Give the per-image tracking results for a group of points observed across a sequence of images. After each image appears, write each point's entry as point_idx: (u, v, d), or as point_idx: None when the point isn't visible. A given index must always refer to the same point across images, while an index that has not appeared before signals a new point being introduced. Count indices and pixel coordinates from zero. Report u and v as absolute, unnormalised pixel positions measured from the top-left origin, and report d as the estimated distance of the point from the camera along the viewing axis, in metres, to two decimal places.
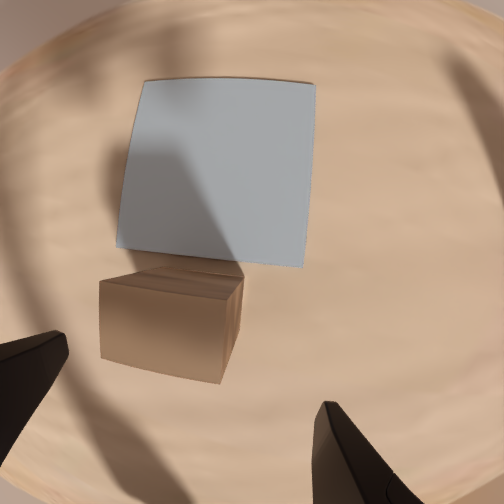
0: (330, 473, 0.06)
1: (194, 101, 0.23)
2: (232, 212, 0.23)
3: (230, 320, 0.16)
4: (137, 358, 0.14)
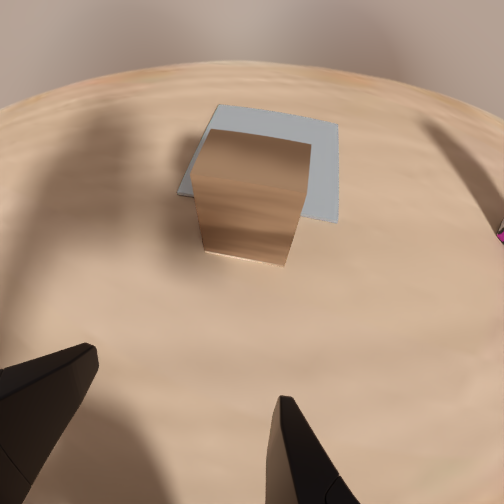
0: (277, 470, 0.06)
1: (256, 119, 0.34)
2: None
3: None
4: (231, 172, 0.17)
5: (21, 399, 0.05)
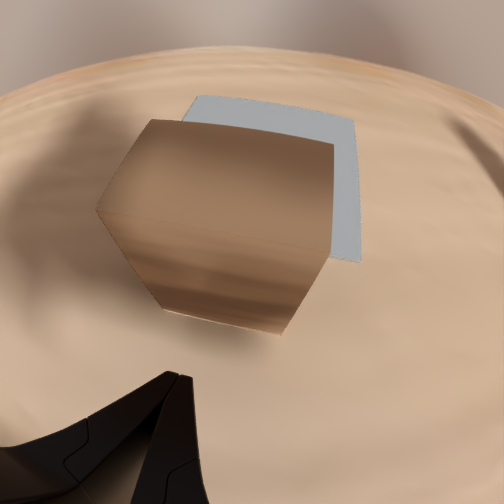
0: None
1: (246, 113, 0.25)
2: None
3: None
4: (171, 204, 0.08)
5: (117, 451, 0.05)
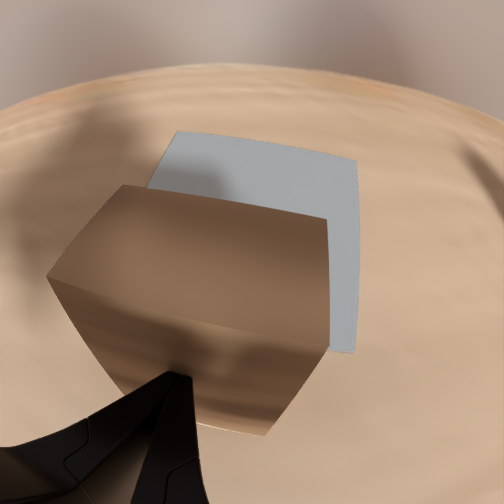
0: None
1: (230, 156, 0.23)
2: None
3: None
4: (132, 281, 0.06)
5: (117, 451, 0.05)
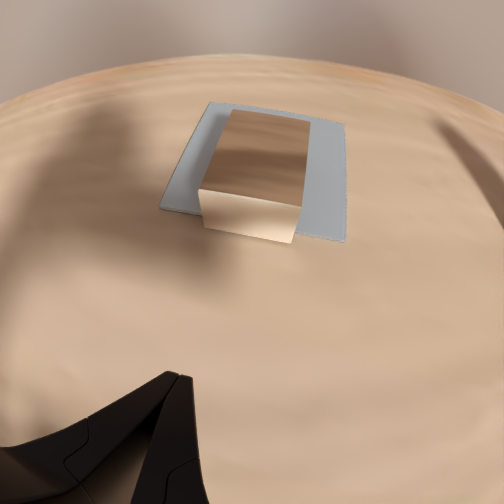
0: None
1: None
2: None
3: None
4: None
5: (117, 451, 0.05)
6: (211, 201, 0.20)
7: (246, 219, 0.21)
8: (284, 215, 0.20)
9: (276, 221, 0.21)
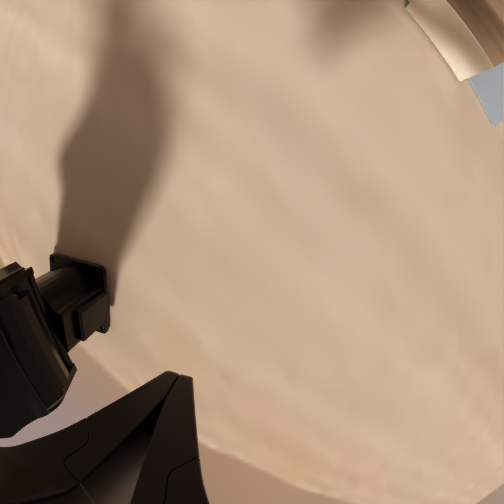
0: None
1: None
2: None
3: None
4: None
5: (117, 451, 0.05)
6: None
7: (445, 32, 0.12)
8: (476, 58, 0.11)
9: (466, 56, 0.12)
